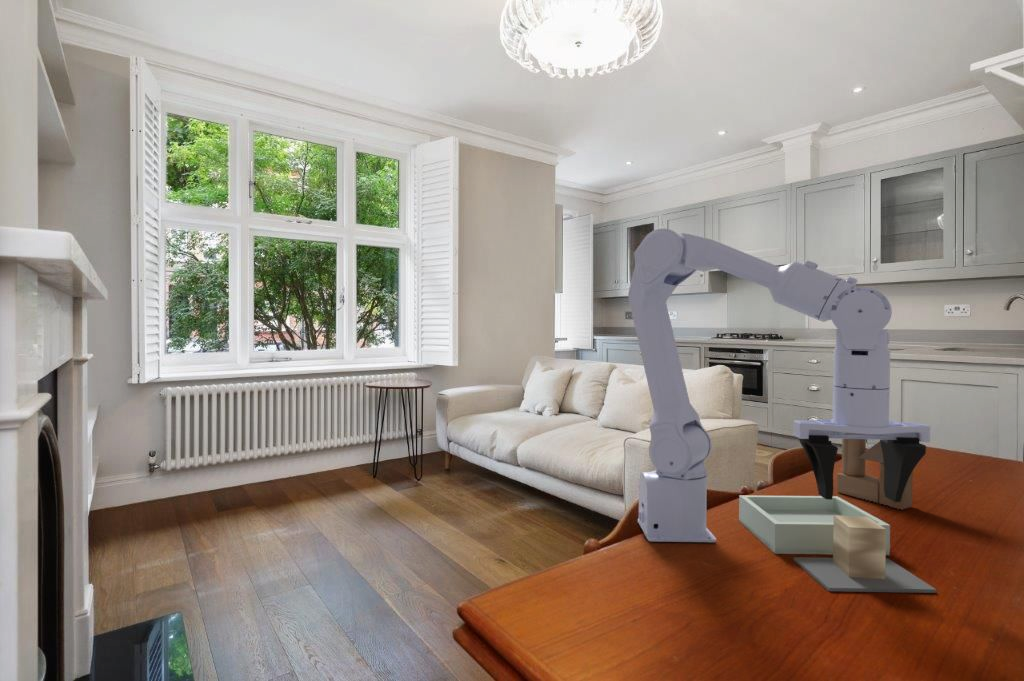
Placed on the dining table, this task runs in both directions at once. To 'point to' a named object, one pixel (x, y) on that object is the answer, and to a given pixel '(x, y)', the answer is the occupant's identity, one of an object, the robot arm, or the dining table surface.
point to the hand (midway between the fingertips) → (858, 498)
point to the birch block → (859, 547)
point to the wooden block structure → (863, 485)
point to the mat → (839, 581)
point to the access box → (798, 522)
